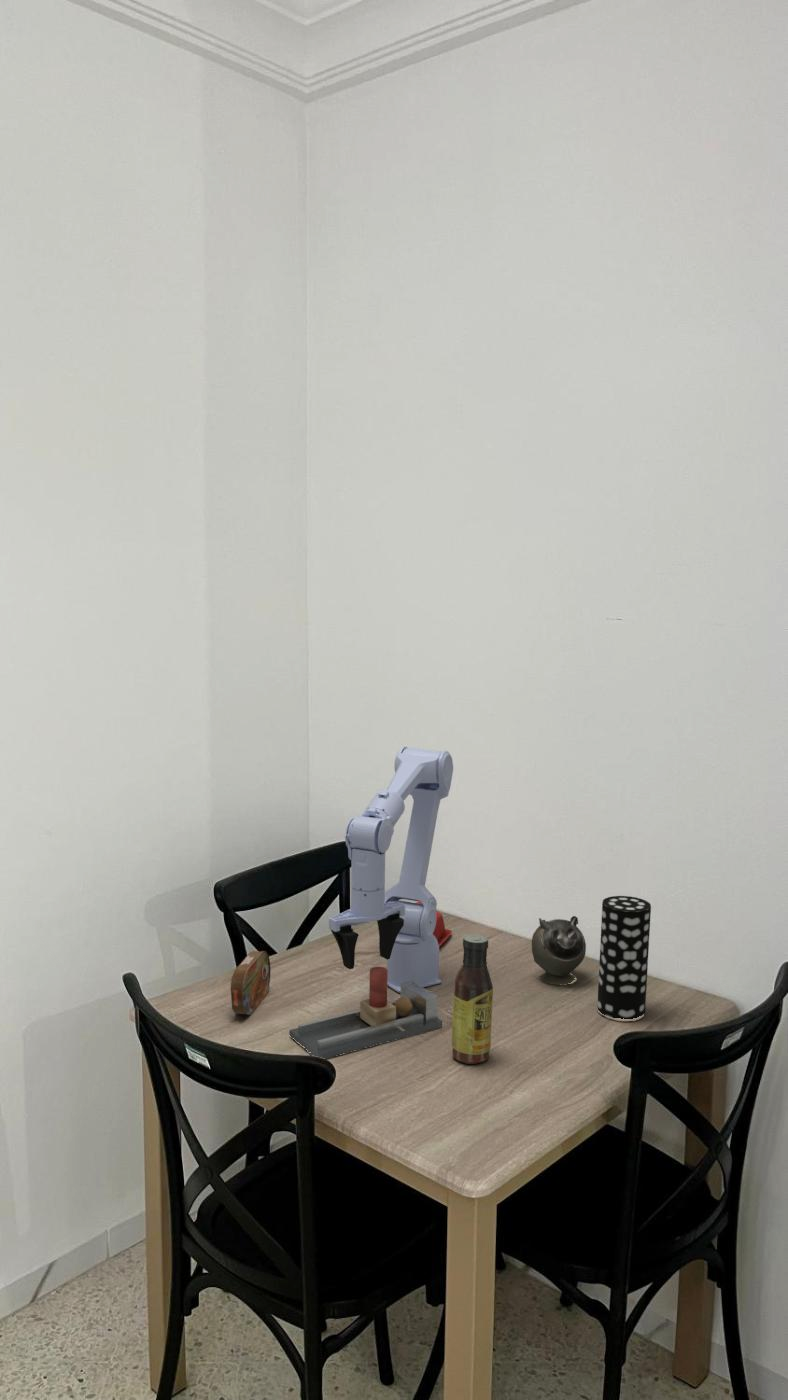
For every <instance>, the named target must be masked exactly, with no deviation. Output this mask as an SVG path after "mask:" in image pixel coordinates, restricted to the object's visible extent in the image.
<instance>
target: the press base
mask: <svg viewBox="0 0 788 1400" xmlns="http://www.w3.org/2000/svg"><path fill="white" fill-rule="evenodd" d="M399 996H400V997H399V998H402V997H405V998H408V999H409V1000H410V1001H411V1002H412V1005H413V1009H412V1012H411V1013H410V1014H409V1015H408V1016H405V1017H402V1016H399V1015H397V1014H396V1020H394V1021H390V1022H386V1023H382V1024H379V1025H375V1026H371V1025H369V1024H368V1023H367V1022H365V1021H364V1020H362V1019H361V1018H360V1008H359V1009H356V1010H351V1011H348V1012H344V1013H340V1014H336V1015H333V1016H328V1017H325V1018H321V1019H320V1018H319V1019H316V1020H313V1021H309V1022H308V1021H307V1022H303V1023H301V1024H300V1023H299V1024H298V1027H295V1028H291V1029H289V1032H288V1034H289V1035H290V1036H291V1037H292V1038H294V1039H295V1040H296V1041H297V1042H299V1043H300V1044H301V1045H302V1046H304V1047H305V1049H307V1050H308V1052H311V1053H310V1054H309V1055H310V1056H311V1055H314V1056H318V1057H322V1058H325V1060H328V1059H332V1058H331V1057H333V1058H335V1056H336V1055H340V1054H343V1053H347V1052H351V1051H354V1050H358V1049H362V1048H365V1047H369V1048H371V1047H370V1046H373V1045H376V1044H380V1043H384V1044H386V1043H385V1042H387V1041H391V1042H393V1041H392V1040H395V1039H398V1040H400V1039H399V1038H402V1039H404V1038H403V1037H405V1038H408V1037H407V1036H409V1037H412V1036H411V1035H413V1036H416V1035H420V1034H422V1033H423V1032H424V1033H427V1032H431V1031H433V1030H434V1029H435V1030H438V1029H442V1028H443V1020H442V1019H441V1018H439V1017H438V1013H439V1012H438V1010H439V996H437V995H436V994H435V993H433V992H432V991H430V990H428V989H426V988H425V987H422V986H420V985H419V984H417V983H415V982H414V981H408V982H403V983H401V993H400V995H399ZM396 1000H397V999H396ZM396 1000H391V1001H389V1002H390V1003H391V1004H393V1005H394V1004H395V1002H396ZM441 1027H442V1028H441ZM437 1028H438V1029H437ZM430 1030H431V1031H430ZM435 1030H434V1031H435ZM395 1041H396V1040H395ZM387 1043H388V1042H387ZM380 1045H381V1044H380ZM376 1046H377V1045H376ZM373 1047H374V1046H373ZM365 1049H366V1048H365ZM362 1050H363V1049H362ZM358 1051H359V1050H358ZM308 1052H307V1053H308ZM351 1053H352V1052H351ZM347 1054H348V1053H347ZM340 1056H341V1055H340ZM336 1057H337V1056H336Z"/></svg>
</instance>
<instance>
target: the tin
mask: <svg viewBox="0 0 788 1400" xmlns="http://www.w3.org/2000/svg"><path fill="white" fill-rule="evenodd" d="M270 983H271V960H270V956H269V954H268V952H267V951H266V950H262V951H256V950H255V951H254V950H253V951H250V952H249V953H248V954H247V955H246V956H245V958H244V959H243V960H242V961H241V963H239V964H238V966H237V967H236V968H235V969H234V971H233V974H232V977H231V982H230V996H231V997H230V998H231V1008H232V1011H233V1012H234V1013H235V1014H237V1015H247V1016H251V1015H252V1014H253V1013H254V1012H255V1011H256V1010H257V1008H258V1007H259V1005H260V1004H261V1002H262V1001H263V1000H264V998H265V997H266V995H267V994H268V991H269V988H270Z"/></svg>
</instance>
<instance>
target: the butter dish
mask: <svg viewBox="0 0 788 1400" xmlns="http://www.w3.org/2000/svg"><path fill="white" fill-rule="evenodd" d="M415 903H417V904H423V903H422V902H418V901H415ZM452 933H453V931H452V930H451V929H449V928H446V925H445V921H444V916H443V914H442V912H440V911H439V910H436V925H435V929H434V932H433V935H434V936H435V937H436V939H437V941H438V945H439V948H440V947H441V946H442V945H443V943H444V942H445V941H446V940H447V939H448V938H449V937H450V936H451V935H452Z"/></svg>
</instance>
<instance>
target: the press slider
mask: <svg viewBox="0 0 788 1400" xmlns="http://www.w3.org/2000/svg"><path fill="white" fill-rule="evenodd" d="M387 978H388V970H387V967H383V966H373V967H371V968H370V969H369V989H368V990H369V991H368V992H369V998H368V999H364V1000H363V999H362V1000H360V1002H359V1003H360V1005H359V1006H360V1007H359V1009H360V1018H361V1019H362V1020H364V1021H365V1022H367V1023H368V1024H369V1025H371V1026H375V1025H379V1024H382V1023H386V1022H390V1021H394V1020H396V1007H395V1006H394V1005H393V1004H391V1003H390V1002H391V1001H388V985H387Z"/></svg>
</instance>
